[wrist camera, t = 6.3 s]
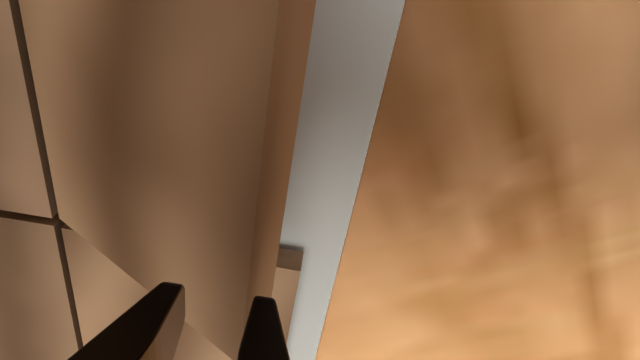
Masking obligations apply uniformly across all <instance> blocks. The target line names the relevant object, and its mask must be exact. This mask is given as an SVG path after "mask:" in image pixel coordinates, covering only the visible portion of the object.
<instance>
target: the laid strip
mask: <svg viewBox="0 0 640 360" xmlns="http://www.w3.org/2000/svg"><path fill="white" fill-rule="evenodd" d="M64 225H65V223H64V222H63V221H62V220H61V219H59V214H58V208H57V203H56V198H55V192H54V187H53V182H52V176H51V171H50V166H49V160H48V155H47V150H46V144H45V139H44V134H43V128H42V123H41V118H40V112H39V107H38V102H37V97H36V91H35V86H34V81H33V75H32V70H31V65H30V59H29V54H28V49H27V43H26V38H25V33H24V27H23V22H22V17H21V11H20V6H19V1H18V0H0V360H67V359H68V358H70V357H71V356H72V355H73V354H75V353H76V352H77V351H78V350H79V349H81V348H82V347H83V341H82V336H81V331H80V325H79V320H78V315H77V309H76V304H75V299H74V293H73V288H72V283H71V277H70V272H69V267H68V261H67V256H66V251H65V246H64V240H63V235H62V230H61V228H62V227H63V226H64Z"/></svg>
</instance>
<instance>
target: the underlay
mask: <svg viewBox="0 0 640 360" xmlns="http://www.w3.org/2000/svg"><path fill="white" fill-rule="evenodd" d="M404 4H405V0H316V6H315V12H314V19H313V25H312V32H311V39H310V45H309V52H308V59H307V65H306V72H305V78H304V85H303V92H302V98H301V105H300V112H299V118H298V125H297V131H296V138H295V145H294V151H293V158H292V165H291V171H290V178H289V184H288V191H287V198H286V204H285V211H284V218H283V224H282V231H281V238H280V244H279V248H283V249H288V250H294V251H299V252H304V254H303V259H302V265H301V271H300V276H299V281H298V287H297V292H296V297H295V302H294V308H293V313H292V318H291V323H290V328H289V334H288V339H287V344H286V345H287V349H288V353H289V357H290V360H315V357H316V353H317V349H318V345H319V341H320V337H321V333H322V329H323V325H324V321H325V317H326V313H327V309H328V305H329V301H330V297H331V293H332V289H333V285H334V281H335V277H336V274H337V270H338V266H339V262H340V258H341V254H342V250H343V246H344V242H345V238H346V234H347V230H348V226H349V222H350V218H351V214H352V210H353V206H354V202H355V198H356V194H357V190H358V186H359V182H360V178H361V174H362V170H363V166H364V162H365V159H366V155H367V151H368V147H369V143H370V139H371V135H372V131H373V127H374V123H375V119H376V115H377V111H378V107H379V103H380V99H381V95H382V91H383V87H384V83H385V79H386V75H387V71H388V67H389V63H390V59H391V55H392V51H393V48H394V44H395V40H396V36H397V32H398V28H399V24H400V20H401V16H402V12H403V8H404Z"/></svg>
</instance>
